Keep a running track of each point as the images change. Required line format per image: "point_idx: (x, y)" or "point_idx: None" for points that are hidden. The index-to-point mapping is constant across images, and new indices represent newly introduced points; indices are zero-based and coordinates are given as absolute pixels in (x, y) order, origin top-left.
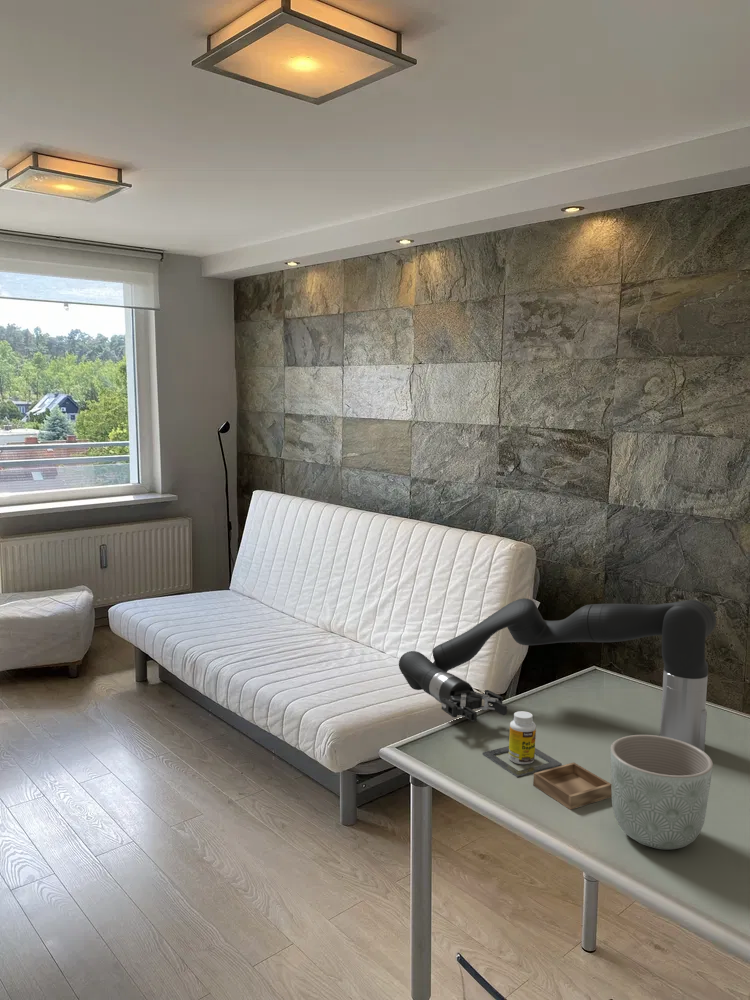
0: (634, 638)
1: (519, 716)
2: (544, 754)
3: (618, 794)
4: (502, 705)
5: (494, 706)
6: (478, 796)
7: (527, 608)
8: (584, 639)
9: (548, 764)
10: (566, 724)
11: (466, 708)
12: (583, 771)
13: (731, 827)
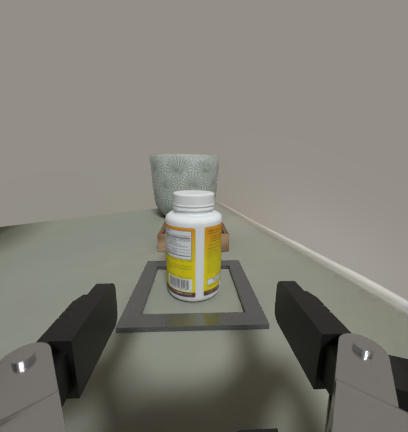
0: None
1: (208, 191)
2: (142, 280)
3: (216, 183)
4: (106, 289)
5: (66, 385)
6: (313, 254)
7: None
8: None
9: None
10: None
11: (330, 322)
12: (164, 230)
13: (133, 212)
